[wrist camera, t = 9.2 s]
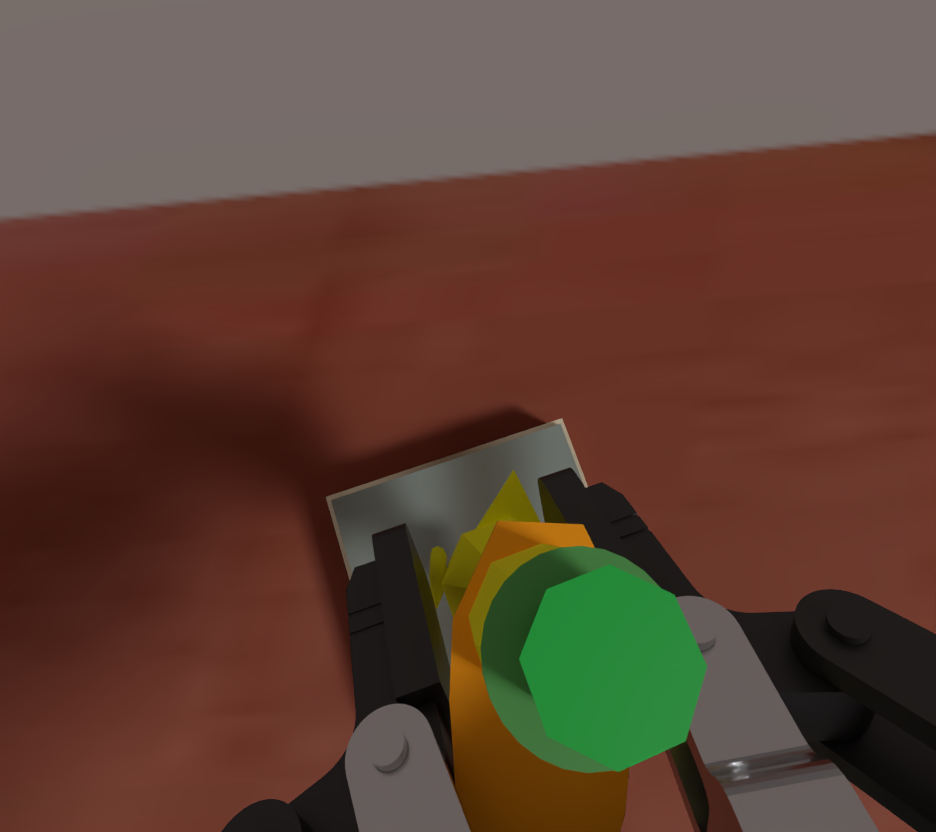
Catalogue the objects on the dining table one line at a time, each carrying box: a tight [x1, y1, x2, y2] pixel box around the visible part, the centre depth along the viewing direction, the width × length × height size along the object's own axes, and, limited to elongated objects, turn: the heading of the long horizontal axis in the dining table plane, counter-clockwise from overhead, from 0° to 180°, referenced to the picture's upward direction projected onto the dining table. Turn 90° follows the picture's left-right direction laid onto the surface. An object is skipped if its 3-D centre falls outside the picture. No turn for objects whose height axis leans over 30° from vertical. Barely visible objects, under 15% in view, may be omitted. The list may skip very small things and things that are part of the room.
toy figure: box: [429, 470, 707, 832], centre depth 10 cm, size 7×4×12 cm, turn 178°
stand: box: [326, 418, 588, 669], centre depth 19 cm, size 9×9×2 cm
